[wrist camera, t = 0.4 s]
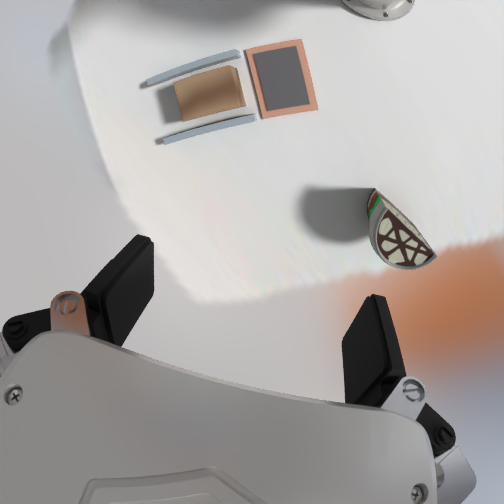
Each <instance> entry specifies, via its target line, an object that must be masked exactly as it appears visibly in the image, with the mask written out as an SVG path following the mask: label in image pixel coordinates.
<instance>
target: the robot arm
mask: <svg viewBox="0 0 504 504" xmlns="http://www.w3.org/2000/svg"><path fill="white" fill-rule="evenodd" d="M342 1H343V2H344V3H345V4H346V5H347V6H348V7H349V8H351V9H352V10H354V11H355V12H357V13H359V14H361V15H363V16H366V17H369V18H371V19H376V20H384V21H389V20H395V19H399V18H401V17H403V16H405V15H406V14H407V13H409V12H410V10H411V9H412V8H413V5H414V1H415V0H349V1H347V0H342ZM407 1H408V2H409V3H408V2H407ZM383 15H385V17H384V16H383ZM153 293H154V243H153V242H152V241H151V239H150V238H149V237H146V236H142V235H139V234H138V235H136V236H135V237H134V238H133V239H132V240H131V241H130V242H129V243H128V244H127V245H126V246H125V247H124V248H123V249H122V250H121V251H120V252H119V253H118V254H117V255H116V256H115V258H114V259H112V260H110V261H109V263H108V264H107V265H106V266H105V267H104V268H103V269H102V270H101V271H100V272H99V273H98V275H97V276H96V277H95V278H94V279H93V280H92V281H91V282H90V283H89V284H88V286H87V287H86V288H85V289H84V290H83V291H82V292H81V294H79V293H77V292H75V291H65V292H61V293H60V294H58V295H56V296H55V297H54V298H53V300H52V302H51V307H50V308H48V309H43V310H39V311H35V312H31V313H26V314H22V315H18V316H14V317H12V318H10V319H9V320H8V321H7V322H6V323H5V324H4V327H3V330H2V332H0V504H461V503H462V502H463V501H464V500H465V499H466V498H467V496H468V495H469V494H470V493H471V492H472V491H473V489H474V488H475V485H476V476H475V473H474V471H473V470H472V468H471V467H470V465H469V463H468V461H467V460H466V458H465V456H464V455H463V453H462V451H461V450H460V448H459V446H457V447H455V446H454V444H455V440H456V436H455V432H454V430H453V428H452V427H451V425H449V423H447V422H446V421H445V420H444V419H443V418H442V417H441V416H440V415H439V414H438V413H437V412H436V411H434V410H433V409H432V408H431V407H430V406H429V405H428V404H427V403H426V401H427V397H428V394H427V393H428V392H427V389H426V387H425V385H424V383H422V381H421V380H419V379H418V378H416V377H413V376H406V372H405V367H404V363H403V359H402V355H401V351H400V347H399V343H398V339H397V335H396V332H395V328H394V325H393V322H392V318H391V314H390V311H389V308H388V304H387V301H386V298H385V297H383V296H379V295H375V294H372V295H371V296H370V297H369V296H368V297H367V298H366V299H365V301H364V303H363V305H362V306H361V308H360V310H359V312H358V314H357V315H356V317H355V319H354V320H353V322H352V324H351V326H350V327H349V329H348V331H347V332H346V334H345V336H344V337H343V340H342V355H343V368H344V385H345V403H340V402H333V401H326V400H319V399H312V398H305V397H300V396H294V395H289V394H284V393H279V392H273V391H269V390H264V389H259V388H255V387H250V386H246V385H242V384H238V383H233V382H229V381H226V380H222V379H218V378H215V377H211V376H207V375H204V374H200V373H197V372H193V371H190V370H187V369H183V368H180V367H177V366H174V365H171V364H168V363H165V362H162V361H159V360H156V359H152V358H150V357H147V356H144V355H142V354H139V353H136V352H133V351H130V350H127V349H125V348H122V347H121V346H122V345H123V343H124V341H125V340H126V338H127V336H128V335H129V333H130V331H131V330H132V328H133V327H134V325H135V323H136V322H137V320H138V319H139V317H140V315H141V314H142V312H143V310H144V309H145V307H146V306H147V304H148V302H149V301H150V299H151V298H152V296H153Z"/></svg>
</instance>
